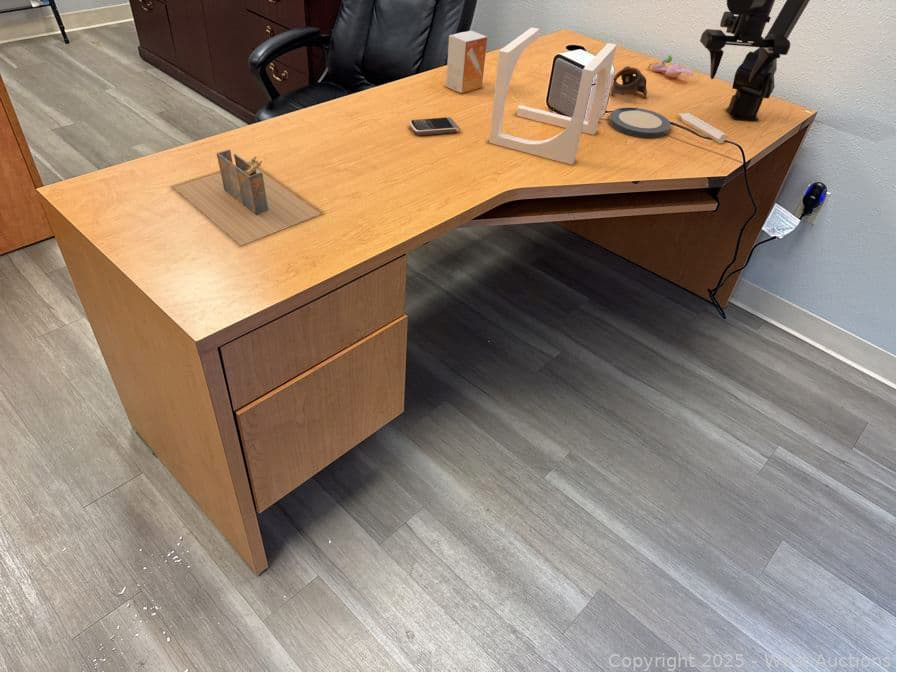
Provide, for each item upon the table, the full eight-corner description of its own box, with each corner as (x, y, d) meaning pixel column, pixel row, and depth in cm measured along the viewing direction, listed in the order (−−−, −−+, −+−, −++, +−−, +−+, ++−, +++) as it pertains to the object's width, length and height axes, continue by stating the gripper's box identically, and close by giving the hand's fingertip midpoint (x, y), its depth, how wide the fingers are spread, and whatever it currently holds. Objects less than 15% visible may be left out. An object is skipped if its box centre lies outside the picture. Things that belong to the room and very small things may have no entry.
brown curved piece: (652, 104, 162) (649, 79, 155) (617, 117, 165) (613, 93, 158) (641, 77, 168) (637, 52, 162) (607, 89, 171) (602, 66, 164)
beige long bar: (676, 119, 156) (721, 144, 146) (672, 116, 155) (717, 141, 145) (682, 110, 155) (728, 135, 145) (678, 107, 154) (724, 131, 143)
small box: (461, 94, 158) (465, 41, 149) (445, 86, 161) (448, 34, 152) (482, 87, 162) (488, 36, 153) (466, 80, 165) (470, 29, 156)
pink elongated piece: (643, 74, 181) (683, 83, 171) (646, 53, 178) (687, 60, 168) (657, 72, 184) (697, 80, 174) (660, 50, 181) (702, 58, 170)
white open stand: (488, 142, 137) (499, 50, 124) (519, 112, 151) (531, 27, 137) (572, 164, 132) (592, 71, 118) (596, 132, 145) (616, 44, 132)
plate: (661, 115, 156) (662, 109, 155) (675, 140, 145) (677, 134, 144) (603, 110, 155) (605, 105, 154) (614, 135, 144) (616, 129, 143)
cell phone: (407, 125, 141) (408, 119, 140) (452, 122, 144) (452, 116, 143) (415, 137, 137) (415, 131, 136) (460, 133, 140) (461, 127, 139)
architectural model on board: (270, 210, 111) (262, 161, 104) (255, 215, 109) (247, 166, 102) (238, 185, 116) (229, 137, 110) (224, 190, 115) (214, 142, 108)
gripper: (786, 1, 138) (758, 71, 149) (705, -5, 138) (683, 65, 149) (804, 15, 130) (774, 87, 141) (719, 8, 130) (695, 81, 141)
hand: (730, 80), depth 143 cm, fingers open, 9 cm apart
